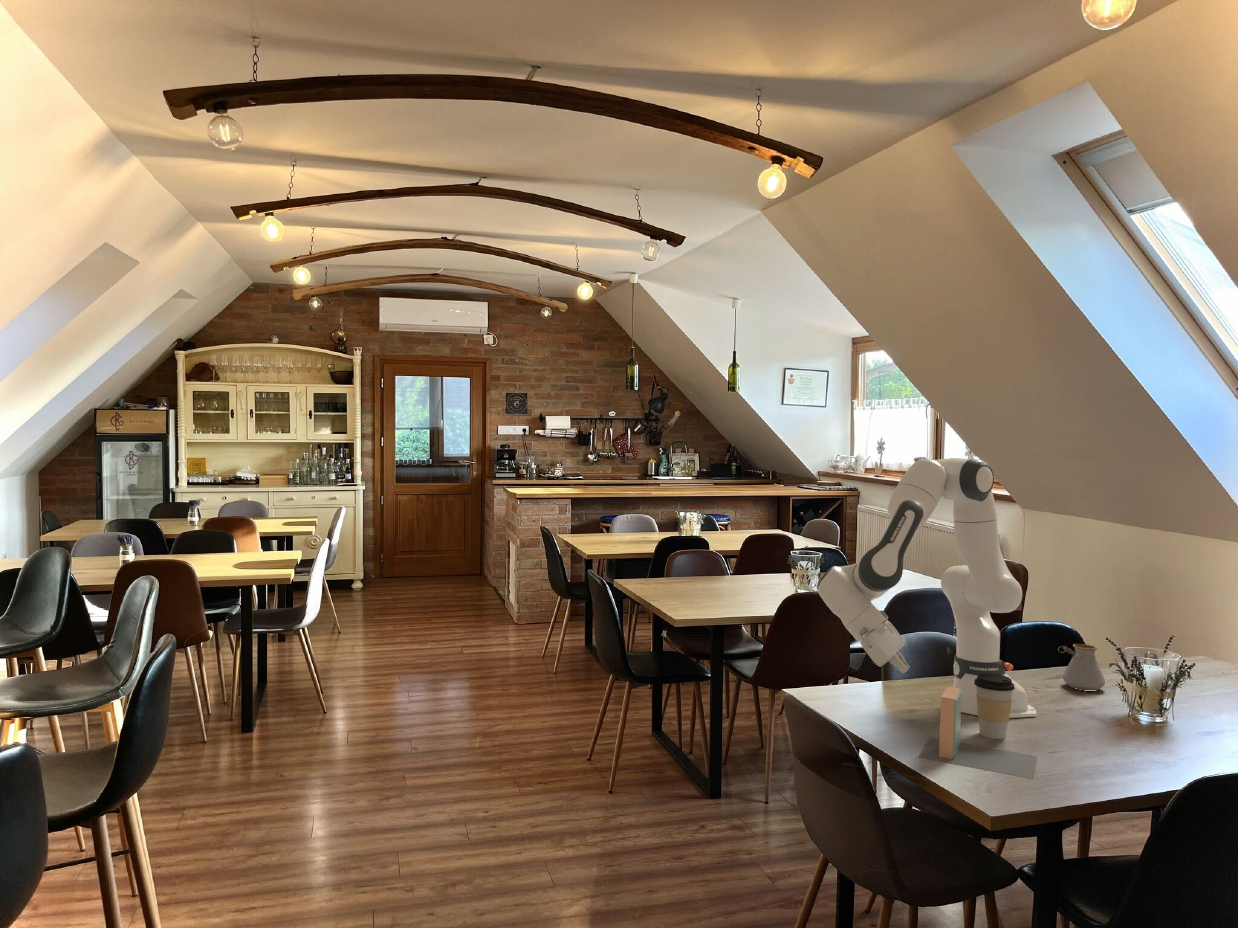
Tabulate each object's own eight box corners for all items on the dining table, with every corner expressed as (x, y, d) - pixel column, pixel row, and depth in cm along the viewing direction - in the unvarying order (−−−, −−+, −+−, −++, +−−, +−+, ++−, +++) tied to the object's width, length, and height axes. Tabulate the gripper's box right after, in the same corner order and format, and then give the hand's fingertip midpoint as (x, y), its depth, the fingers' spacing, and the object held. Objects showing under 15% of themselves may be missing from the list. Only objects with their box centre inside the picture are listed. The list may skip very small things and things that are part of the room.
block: (938, 756, 200) (941, 696, 199) (945, 743, 208) (947, 686, 208) (954, 759, 198) (956, 699, 198) (959, 746, 207) (961, 688, 206)
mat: (918, 759, 199) (918, 757, 199) (929, 738, 213) (929, 736, 213) (1033, 781, 187) (1033, 778, 187) (1037, 758, 202) (1037, 755, 202)
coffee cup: (1010, 746, 209) (1012, 685, 209) (968, 738, 214) (971, 678, 214) (1015, 735, 217) (1017, 676, 217) (975, 727, 222) (977, 670, 222)
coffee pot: (1072, 680, 270) (1074, 633, 270) (1111, 689, 261) (1113, 640, 261) (1039, 691, 257) (1041, 642, 256) (1079, 701, 248) (1081, 650, 247)
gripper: (867, 624, 202) (908, 672, 197) (885, 610, 220) (923, 654, 215) (847, 640, 204) (888, 688, 200) (867, 625, 222) (904, 669, 218)
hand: (906, 670), depth 208 cm, fingers closed
